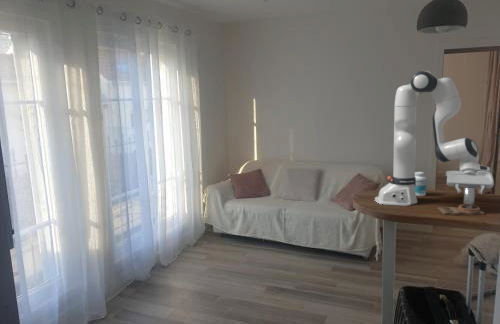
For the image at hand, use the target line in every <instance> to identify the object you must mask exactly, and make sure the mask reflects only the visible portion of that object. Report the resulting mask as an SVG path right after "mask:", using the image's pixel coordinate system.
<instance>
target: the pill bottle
mask: <svg viewBox="0 0 500 324" xmlns="http://www.w3.org/2000/svg"><path fill="white" fill-rule="evenodd" d="M424 175H425V172H423V171H415V177H416V185H415V193H416V197H425V196H426V194H427V177H426V176H424Z"/></svg>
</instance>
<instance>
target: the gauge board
mask: <svg viewBox="0 0 500 324" xmlns="http://www.w3.org/2000/svg"><path fill="white" fill-rule="evenodd" d="M437 210H438V211H439V212H440V213H442V214H443V215H444V216H485V212H484V211H482V210H481V208H480V207H479V206H478V205H475V204H474V209H466V208H464V203H463V204H459V205H458V206H437Z"/></svg>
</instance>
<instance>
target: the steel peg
mask: <svg viewBox="0 0 500 324" xmlns="http://www.w3.org/2000/svg"><path fill="white" fill-rule="evenodd" d="M475 191H476V187H463V204H464V208H466V209H474V205H475V193H476V192H475Z"/></svg>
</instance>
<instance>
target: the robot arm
mask: <svg viewBox="0 0 500 324" xmlns="http://www.w3.org/2000/svg"><path fill="white" fill-rule="evenodd" d="M409 82H410V83H409V84H403V85H401V86H399V87H398V88H397V89H396V93H395V95H394V96H395V98H394V112H393V113H394V114H393V115H394V119H393V121H394V122H393V124H394V125H393V168H392V169H393V173H392V174H393V175H392V176H390V175H388V176H387V180H389V182H388V183H387V184H385V185H384V186H382V188H380V190H379V191H378V196H375V197H374V199H375V200H374V202H375V201H376V202H377V203H376V202H375V203H376V204H378V203H379V204H378V205H382V204H383V205H385V206H403V207H406V206H412V205H414V204H415V205H416V204H417V203H418V199H417V196H416V193H415V185H416V177H415V172H416V155H417V153H416V152H417V140H416V130H417V129H416V127H417V113H418V112H417V111H418V110H417V104H418V102H417V101H418V96H419V95H421V94H424V93H431V95H432V96H433V99H434V101H435V106H436V107H435V108H436V109H435V112H434V113H433V114H432V129H433V138H434V155H435V158H436V159H437V160H438V161H441V162H442V163H446V162H451V161H453V160H458V159H459V165H458V167H459V169H449V170H447V171H446V172H445V176H446V185H447V187H455V190H456V191H457V194H462V189H461V187H462V188H464V187H474V188H475V189H476V188H477V189H478V188H480V189H478V191H477V194H478V196H482V194H483V192H484V190H485V189H493V187H494V185H495V184H494V183H495V182H494V177H493V174H492V173H491V169H490V168H491V167H489V166H486V165H482V164H480V163H479V160H480V154H479V147H478V145H477V143H476V142H475V140H473V139H471V138H469V137H463V138H459V139H455V140H451V141H450V140H449V141H445V135H444V125H445V123H446V122H447V121H448V120H450V119H451V118H453V117H454V116H455V115H457V114H458V113H459V112H460V109H461V108H462V100H461V96H460V93H459V90H458V89H457V86H456V84H455V83H454V81H453V79H452V78H450V77H440V78H436V77H435V75H434V74H433V73H432V72H430V71H429V70H419V71H417V72H415V73H414V74H413V75H412V76H411V78H410V80H409ZM383 205H382V206H383Z"/></svg>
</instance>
